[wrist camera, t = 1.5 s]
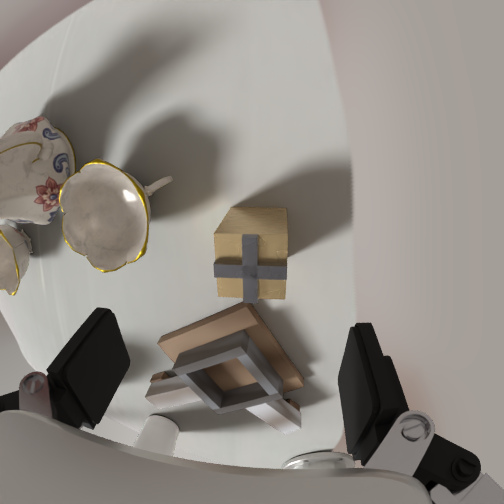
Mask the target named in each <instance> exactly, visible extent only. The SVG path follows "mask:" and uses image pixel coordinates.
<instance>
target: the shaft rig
mask: <svg viewBox="0 0 504 504" xmlns="http://www.w3.org/2000/svg"><path fill="white" fill-rule="evenodd" d="M157 344H158V345H159V346H160V347H161V349H162V350H163V351H164V352H165V353H166V354H167V355H168V356H169V358H170V359H171V360H172V361H173V362H174V363H175V364H174V366H173V369H172V370H173V371H174V372H175V373H176V374H177V375H178V376H175V377H172V378H170V377H169V376H168V375H167V374H166V373H165V372H161V373H158V374H154V375H153V376H152V378H151V380H150V382H151V385H150V387H149V389H148V392H147V394H146V396H145V398H146V399H147V400H148V401H149V402H151V403H152V404H153V405H154V406H155V407H156V408H157V409H163V408H168V407H173V406H178V405H183V404H187V403H192V402H196V401H201V400H203V401H204V402H205V403H206V404H207V405H208V406H209V407H210V408H211V409H212V410H213V411H215V412H216V413H217V414H223V413H227V412H232V411H236V410H240V409H244V408H246V409H247V410H248V411H250V412H251V413H253V414H254V415H256V416H257V417H258V418H260V419H261V420H263V421H264V422H266V423H267V424H269V425H270V426H272V427H273V428H275V429H276V430H278V431H280V432H281V433H283V434H284V435H285V434H288V433H291V432H293V431H296V430H299V429H301V413H300V406H299V405H298V404H296V403H295V402H294V401H292V400H291V399H289V400H286V401H285V400H283V399H282V398H283V393H285V392H289V391H292V390H295V389H298V388H301V387H304V378H303V377H302V376H301V374H300V373H299V372H298V370H297V369H296V367H295V366H294V365H293V363H292V362H291V360H290V359H289V358H288V356H287V355H286V353H285V352H284V351H283V349H282V348H281V346H280V345H279V343H278V342H277V341H276V339H275V338H274V336H273V335H272V333H271V332H270V331H269V329H268V328H267V326H266V325H265V323H264V322H263V320H262V319H261V318H260V316H259V315H258V313H257V312H256V310H255V309H254V307H253V306H252V305H251V303H243V302H242V303H239V304H237V305H235V306H232V307H230V308H228V309H226V310H223V311H221V312H219V313H216V314H214V315H212V316H210V317H207V318H205V319H203V320H200V321H198V322H195V323H193V324H191V325H188V326H186V327H184V328H181V329H179V330H176V331H174V332H172V333H169V334H167V335H164V336H162V337H161V338H160V340H159V341H158V343H157Z"/></svg>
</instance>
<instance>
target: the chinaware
mask: <svg viewBox="0 0 504 504" xmlns="http://www.w3.org/2000/svg"><path fill="white" fill-rule="evenodd" d="M171 181H172V177H171V176H167V177H164V178H162V179H159V180H157V181H156V182H154V183H153V184H151V185H150V186H145V187H144V188H143V187H142V185H141V184H140V183H139V182H138V181H137V180H136V179H135V178H134V177H133V176H132V175H130V174H128V173H126V172H124V171H122V170H121V169H119V168H117V167H116V166H114V165H113V164H111V163H109V162H106V161H104V160H102V159H98V158H97V159H94V160H92V161H90V162H88V163H86V164H85V165H84V166H83V167H82V168H81V169H80V171H77V172H76V159H75V154H74V150H73V147H72V144H71V142H70V140H69V139H68V137H67V136H66V135H65V133H63V132H62V131H61V130H60V129H58V128H55V127H53V126H52V125H51V123H50V122H49V121H48V120H47V119H46V118H45V117H43V116H39V117H36V118H34V119H32V120H29V121H26V122H21V123H16V124H14V125H13V126H11V127H10V128H9V129H8V130H7V131H6V132H5V134H4V135H3V136H2V137H1V138H0V219H8V220H11V221H14V222H16V223H20V224H26V223H35V224H40V225H46V224H49V223H50V222H51V221H52V220H53V219H54V217H55V215H56V213H57V211H58V209H59V207H60V206H61V209H62V212H64V213H65V214H64V215H63V220H62V232H63V235H64V240H65V242H66V243H67V244H68V245H69V246H70V247H71V249H72V250H73V251H75V252H77V253H79V254H81V255H83V256H85V255H87V259H88V260H89V262H90V263H91V265H92V266H93V267H94V268H96V269H98V270H100V271H102V272H104V273H106V272H111V271H116V270H118V269H119V268H121V267H123V266H124V265H126V263H128V264H129V263H132V262H135V261H137V260H138V259H139V258H140V257H142V256H143V255H144V254H145V253H146V250H147V242H148V233H149V223H150V216H151V209H150V203H149V199H148V196H151V195H152V194H153V193H154V191H156V190H157V189H159V188H161V187H163V186H164V185H166V184H168V183H170V182H171ZM30 253H33V251H32V246H31V238H29V237H28V236H27V235H26V233H24V231H23V229H22V231H21V232H20V231H18V230H17V229H16V228H14V227H12V226H9V225H0V290H6V291H7V292H8V294H9V295H15V294H16V292H17V290H18V287H19V283H20V281H21V279H22V278H23V276H24V275H25V273H26V271H27V268H28V265H29V254H30Z"/></svg>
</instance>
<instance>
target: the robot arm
mask: <svg viewBox="0 0 504 504" xmlns="http://www.w3.org/2000/svg"><path fill="white" fill-rule="evenodd" d="M129 366H130V358H129V355H128V353H127V350H126V347H125V344H124V341H123V338H122V335H121V332H120V329H119V326H118V323H117V320H116V317H115V314H114V313H112V311H111V310H110V309H107V308H100V307H98V308H96V309H95V310H94V311H93V312H92V314H91V315H90V316H89V317H88V318H87V319H86V321H85V322H84V323H83V324H82V325H81V327H80V328H79V329H78V330H77V332H76V333H75V334H74V335H73V336H72V338H71V339H70V340H69V341H68V343H67V344H66V345H65V346H64V348H63V349H62V350H61V351H60V353H59V354H58V355H57V357H56V358H55V359H54V360H53V362H52V363H51V364H50V366H49V367H48V368H47V372H48V375H47V376H46V375H45V374H44V373H42V372H37V371H36V372H32V373H29V374H27V375H26V376H25V377H24V378H23V379H22V380H21V382H20V385H19V390H18V391H15V392H12V393H9V394H6V395H3V396H0V504H504V490H503V489H502V488H501V487H500V486H499V485H498V484H497V483H496V482H495V481H494V480H493V479H492V478H491V477H490V476H489V475H488V474H487V473H485V475H483V474H482V473H481V472H480V471H481V465H480V461H479V459H478V458H477V456H476V455H474V454H473V453H472V452H470V451H468V450H466V449H464V448H462V447H460V446H458V445H456V444H454V443H452V442H450V441H448V440H446V439H444V438H442V437H440V436H439V435H437V434H435V433H434V432H435V425H434V423H433V420H432V419H431V418H430V417H429V416H428V415H427V414H425V413H423V412H420V411H413V410H412V411H409V408H408V405H407V402H406V399H405V396H404V393H403V390H402V387H401V384H400V381H399V379H398V375H397V373H396V370H395V367H394V365H393V362H392V359H391V357H390V356H383V353H382V350H381V348H380V345H379V342H378V339H377V336H376V334H375V331H374V328H373V326H372V324H371V323H356V324H355V327H351V328H350V331H349V335H348V339H347V343H346V348H345V352H344V356H343V360H342V363H341V367H340V371H339V375H338V386H339V393H340V399H341V406H342V413H343V420H344V428H345V435H346V444H347V451H348V454H352V455H353V457H352V456H350V455H348V454H345V453H340V452H317V453H310V454H305V455H301V456H298V457H295V458H293V459H291V460H289V461H287V462H286V463H285V464H284V465H283V467H282V469H267V468H251V467H239V466H229V465H220V464H213V463H206V462H199V461H193V460H187V459H182V458H177V457H172V456H167V455H163V454H159V453H154V452H150V451H146V450H142V449H139V448H135V447H131V446H128V445H124V444H121V443H118V442H114V441H111V440H108V439H105V438H102V437H99V436H96V435H94V434H91V433H88V432H85V431H82V430H80V427H81V425H83V426H85V427H87V428H90V429H94V428H95V426H96V424H99V423H100V421H101V419H102V417H103V415H104V413H105V411H106V410H107V408H108V406H109V404H110V402H111V400H112V398H113V396H114V394H115V392H116V390H117V389H118V387H119V385H120V383H121V381H122V379H123V377H124V376H125V374H126V372H127V370H128V368H129ZM355 460H361V465H362V466H364V468H354V467H355Z"/></svg>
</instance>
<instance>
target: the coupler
mask: <svg viewBox="0 0 504 504" xmlns="http://www.w3.org/2000/svg"><path fill="white" fill-rule="evenodd" d="M214 243H215V259H216V260H215V262H214V277H216V278H217V288H218V297H236V298H243V303H258V298H259V299H285V294H286V280H287V251H288V225H287V209H286V208H262V207H231V208H230V210H229V211H228V213H227V214H226V216H225V217H224V219H223V220H222V222H221V223H220V225H219V226H218V228H217V229H216V231H215V233H214Z"/></svg>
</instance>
